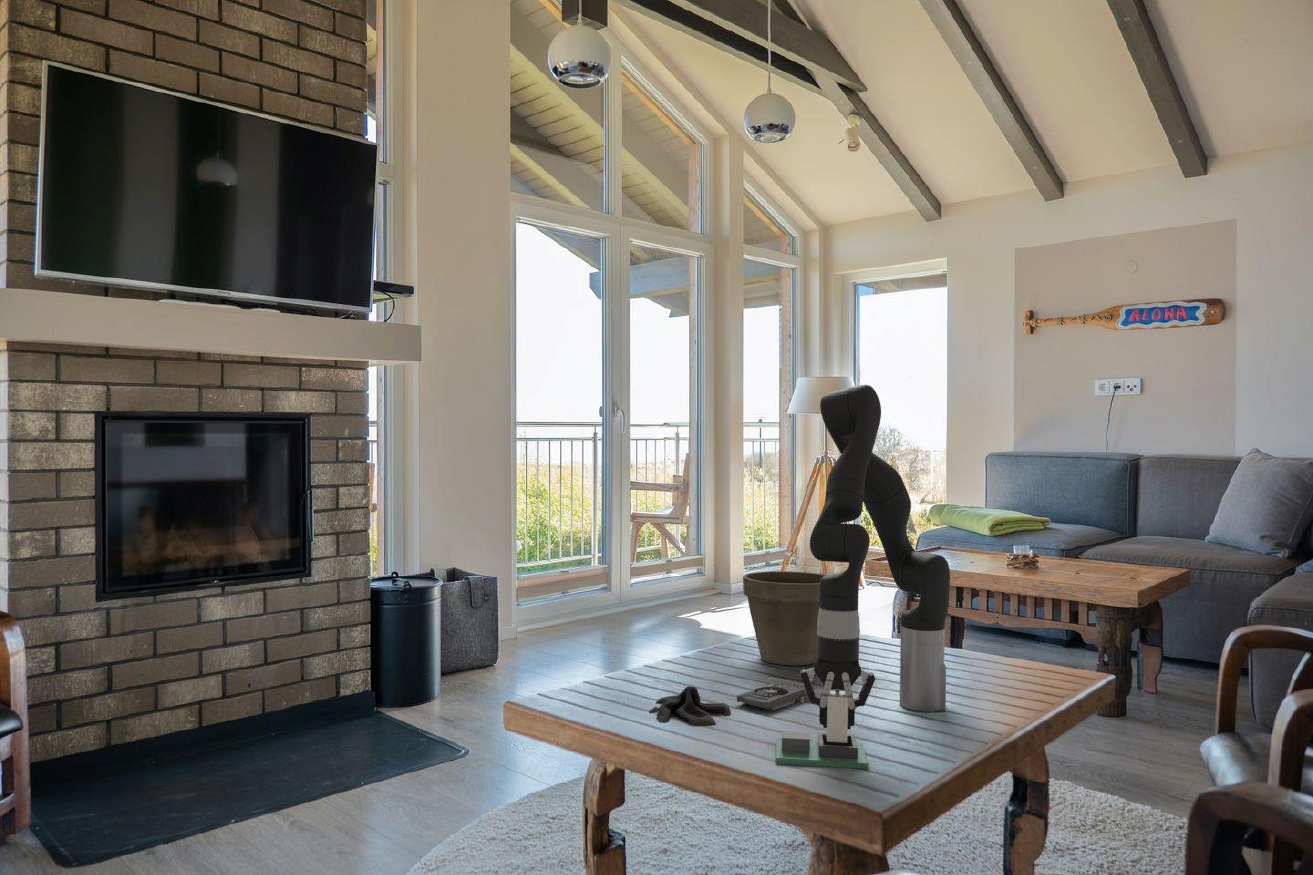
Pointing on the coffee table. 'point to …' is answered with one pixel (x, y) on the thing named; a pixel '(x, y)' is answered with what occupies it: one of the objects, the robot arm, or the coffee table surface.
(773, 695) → the graphics card
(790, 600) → the plant pot
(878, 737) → the coffee table surface
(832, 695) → the plug
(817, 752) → the header board
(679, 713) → the cloth
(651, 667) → the coffee table surface
